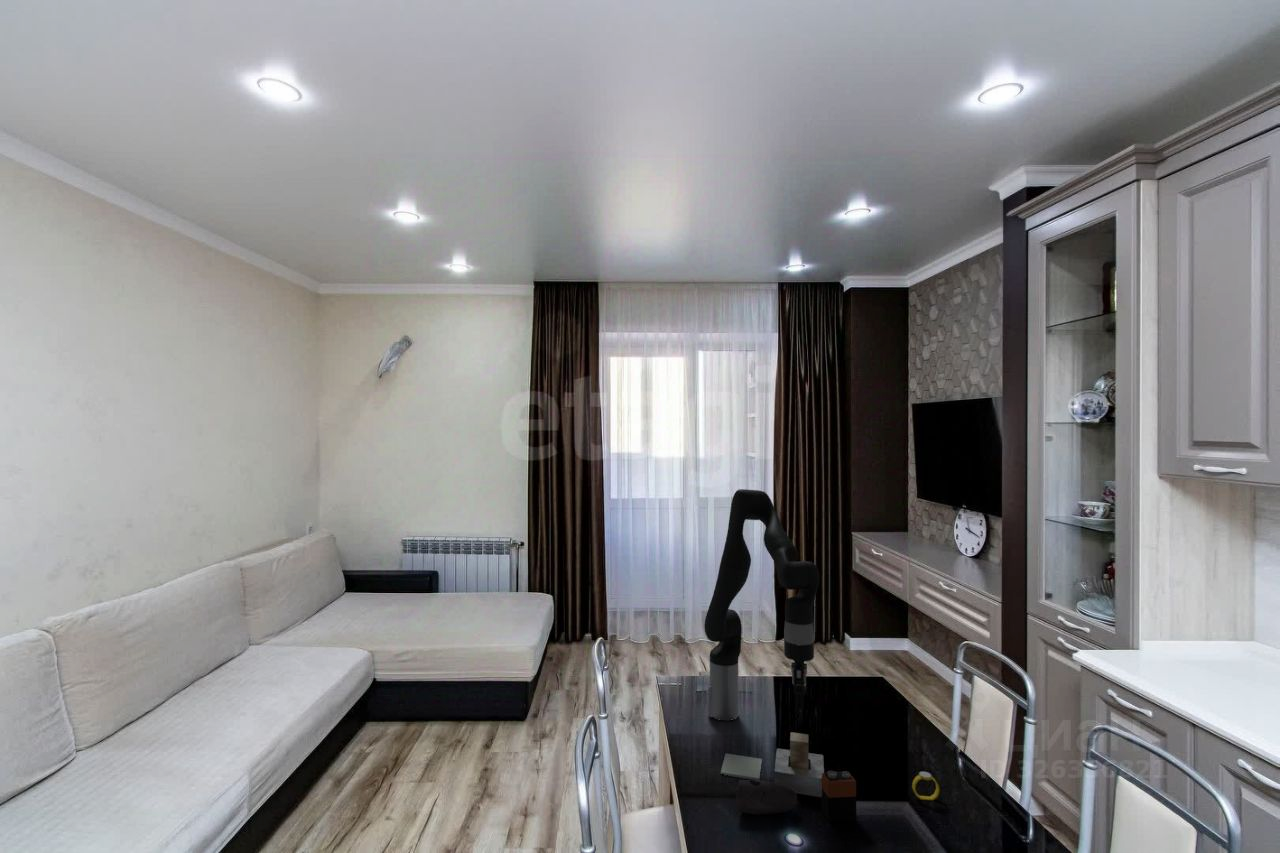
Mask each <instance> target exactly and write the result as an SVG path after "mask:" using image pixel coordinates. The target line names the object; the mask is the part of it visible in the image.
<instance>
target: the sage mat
mask: <svg viewBox="0 0 1280 853" xmlns="http://www.w3.org/2000/svg"><path fill="white" fill-rule="evenodd" d="M761 765H763V758H759V757H758V758H757V757H753V756H746V755H739V754H738V755H737V754H733V753H732V754H731V753H725V754H724V760H723V761H722V766H721V770H720V775H721V774H724V775H723V776H727V775H728V777H735V778H740V779H745V780H757V781H759V780H760V777H761V773H760V772H761V771H762V766H761Z"/></svg>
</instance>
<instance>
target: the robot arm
mask: <svg viewBox="0 0 1280 853" xmlns="http://www.w3.org/2000/svg"><path fill="white" fill-rule="evenodd" d="M730 504H731V505H730V511H729V518H728V525H727V526H728V527H727V533H726V537H725V538H726V539H725V543H724V548H723V551H722V556H721V559H720V564H719V568H718V574H717V579H716V582H715V586H714V590H713V594H712V598H711V600H710V603H709V606H708V610H707V612H706V615H705V620H704V633H705V636H706V638H707V639H708V640H709V641H710V642H712V643H718V644H717V645H716V646H715V647H713V648H712V649H711V650H710V652H709V684H708V687H707V688H708V695H707V696H708V697H707V698H708V700H707V701H708V702H707V706H708V707H707V709H708V710H707V712H708V715H707V716H712V717H714V718H716V719H720V720H731V719H734V718H736V717H738V718H739V657H740V655H741V650H742V631H743V630H742V627H743V626H742V620H741V617H740V615H739V614H738V612H737V611H735V610H734V609H729V608H730V606H731V604H732V602H733V600H735V598H736V597H737V596H738V595H739V593H740V592H741V590H742V589H743V588H744V586H745V584H746V582H747V580H748V578H749V574H750V573H749V572H750V569H751V564H752V557H751V553H750V551H749V548H748V546H747V543H746V540H745V538H744V525H745V521H748V520H750V521H760V522H762V524H764V526H765V529H764V530H765V531H764V533H763V543H764V547H765V549H766V550H767V552H768V554H769V556H770V557H771V559H772V560H773V562H774V566H775V570H776V574H777V575H776V576H777V579H778V583H779V584H780V586H782V587H783V588H784V589H786V590H791V591H792V590H793V591H794V590H798V593H797V594H796V595H793V596H790V597H787V599H786V600H785V602H784V627H783V633H784V634H783V635H784V636H783V637H784V638H783V640H784V641H783V643H784V644H783V645H784V647H783V649H784V650H783V652H784V654H783V655H784V657H785V658H786V659H788V660H791V661H792V662H791V667H790V672H791V676H792V677H791V682H792V685H793V694H794V709H796V710H799V711H800V710H801V711H802V710H804V708H805V706H804V705H805V704H804V703H805V702H804V700H805V699H804V698H805V697H804V696H805V692H806V691H805V687H806V685H807V674H808V664H807V663H806V662H810V661H812V660H814V659H815V658H814V657H815V632H814V631H815V630H814V625H813V624H814V623H813V621H814V617H813V615H814V614H813V613H814V612H813V611H814V608H813V607H814V603H815V600H816V594H817V592H818V587H819V583H820V572H819V571H820V570H819V569H818V567H817V566H816V564H815V563H814V562H812V561H807V560H804V561H803V560H802V561H797V560H798V559H799V551H798V550H797V548H796V546H795V544H794V543H793V542H792V540H791V539H790V538H789V535H788V534H787V533H786V531H785V529H784V528H783V527H784V526H783V525H782V523H781V521H780V518H779V515H778V513H777V510H776V508H775V506H774V503H773V502H772V499H771V498H770V496H769V495H768V494H767V492H766V491H764V490H763V491H762V490H759V489H758V490H757V489H746V488H745V489H744V488H743V489H742V488H739V489H737V490H736V491H735V492H734V494H733V496H732V499H731V503H730ZM716 719H715V720H716Z"/></svg>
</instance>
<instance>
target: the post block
mask: <svg viewBox="0 0 1280 853" xmlns="http://www.w3.org/2000/svg"><path fill="white" fill-rule="evenodd" d="M808 760H809V770H806V769H800V768H793V767H790V749H785V748H783V749H782V748H776V753H775V761H774V763H775V765H774V782H773V783H778V784H782V785H785V786H787V787H789V788H791V789H792V790H793V791H794V792H795V793H796V794H799V795H805V796H811V797H816V798H817V797H818V798H822V773H825V767H824V766H825V765H824V754H819V753H818V754H817V753H811V752H808Z"/></svg>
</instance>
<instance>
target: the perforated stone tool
mask: <svg viewBox="0 0 1280 853" xmlns="http://www.w3.org/2000/svg"><path fill="white" fill-rule="evenodd" d="M735 796H736V798H735V800H736V807H737V808H738V811H739V812H740V813H742V814H747V815H754V816H756V815H757V816H758V815H759V816H761V815H775V814H782V813H786V812H789V811H791V810H793V809H794V808H795V807H796V806H797V804H798V800H799V799H798V795H797V793H795V792H794V791H793V790H792V789H791V788H789V787H787V786H785V785H782V784H778V783H774V782H772V781H768V780H767V781H766V780H762V779H761V780H760V779H759V781H758V780H752V779H739V780H738V786H737V788H735Z"/></svg>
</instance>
